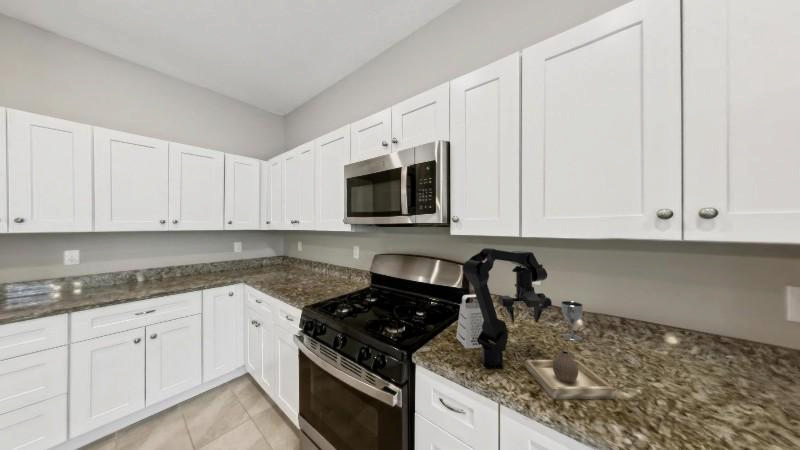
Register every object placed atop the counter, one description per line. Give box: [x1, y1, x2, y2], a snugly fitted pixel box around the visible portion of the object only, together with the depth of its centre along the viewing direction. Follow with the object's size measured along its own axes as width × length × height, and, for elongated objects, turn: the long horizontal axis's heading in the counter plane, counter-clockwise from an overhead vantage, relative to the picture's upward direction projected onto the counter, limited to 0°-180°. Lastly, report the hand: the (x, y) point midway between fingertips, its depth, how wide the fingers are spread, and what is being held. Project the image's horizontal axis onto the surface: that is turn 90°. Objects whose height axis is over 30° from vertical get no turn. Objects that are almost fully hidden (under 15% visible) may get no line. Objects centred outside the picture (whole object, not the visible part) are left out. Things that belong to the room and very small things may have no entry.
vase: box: [552, 350, 578, 383], centre depth 82 cm, size 7×7×9 cm
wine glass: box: [561, 300, 584, 341], centre depth 115 cm, size 8×8×15 cm
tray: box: [525, 359, 616, 400], centre depth 82 cm, size 18×16×3 cm
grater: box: [455, 293, 484, 350], centre depth 111 cm, size 10×10×20 cm
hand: (524, 322), depth 101 cm, fingers open, 9 cm apart
